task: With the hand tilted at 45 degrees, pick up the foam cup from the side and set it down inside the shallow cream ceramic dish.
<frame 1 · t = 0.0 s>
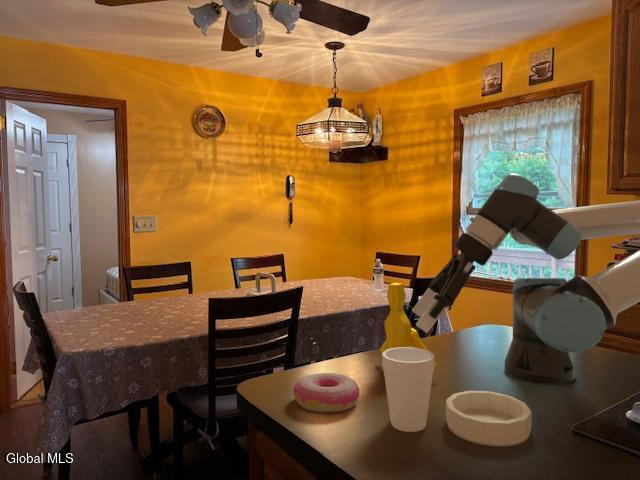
hand: (418, 321, 102), 15 cm above the counter, tool tilted 35°, fingers open, 13 cm apart
foam cup: (408, 425, 87), on the counter
dish: (487, 427, 85), on the counter
donut: (327, 404, 97), on the counter
figure statuette: (402, 373, 115), on the counter
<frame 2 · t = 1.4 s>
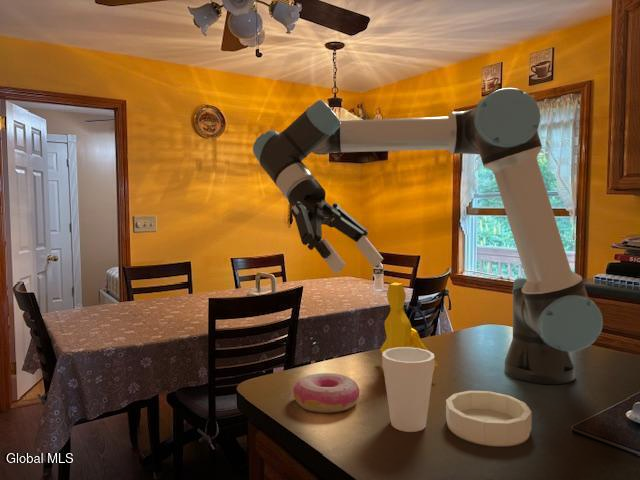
hand: (360, 266, 92), 29 cm above the counter, tool tilted 45°, fingers open, 13 cm apart
nothing on the counter moved.
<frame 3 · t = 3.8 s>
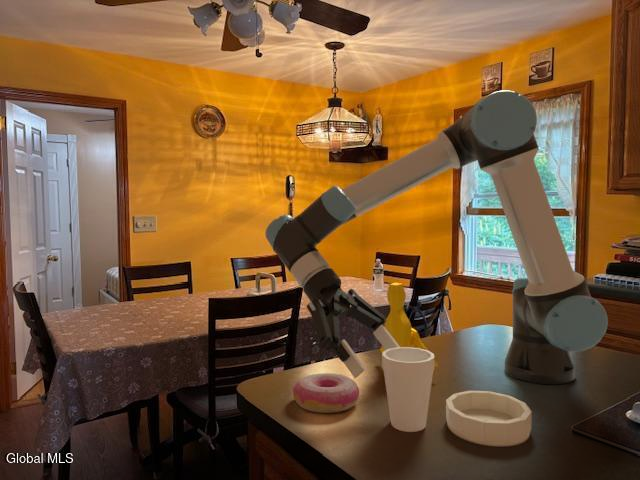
hand: (380, 363, 89), 10 cm above the counter, tool tilted 45°, fingers open, 13 cm apart
nothing on the counter moved.
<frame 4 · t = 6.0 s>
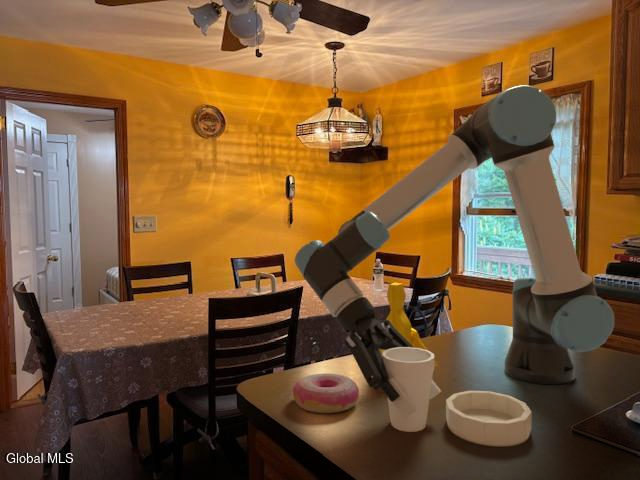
hand: (423, 404, 85), 4 cm above the counter, tool tilted 45°, fingers closed on foam cup, 9 cm apart
foam cup: (408, 424, 87), on the counter, touching gripper
everything else where it was.
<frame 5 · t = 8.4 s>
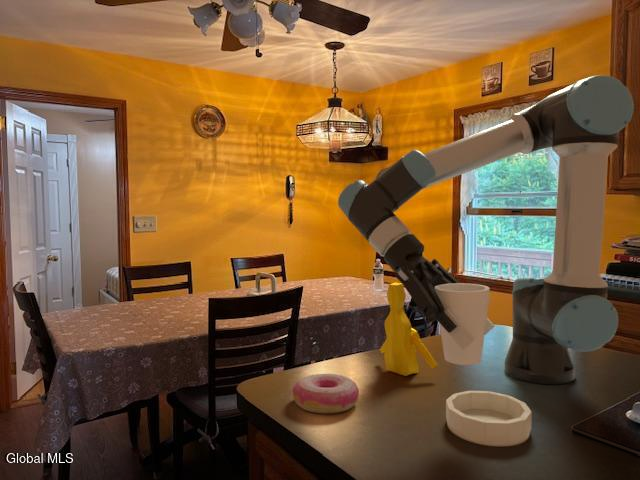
hand: (479, 337, 83), 17 cm above the counter, tool tilted 45°, fingers closed on foam cup, 9 cm apart
foam cup: (462, 360, 85), point 12 cm above the counter, touching gripper
everything else where it was.
when the fingers open (7 cm above the counter, at t = 11.1 s): foam cup drops 2 cm, resting on dish.
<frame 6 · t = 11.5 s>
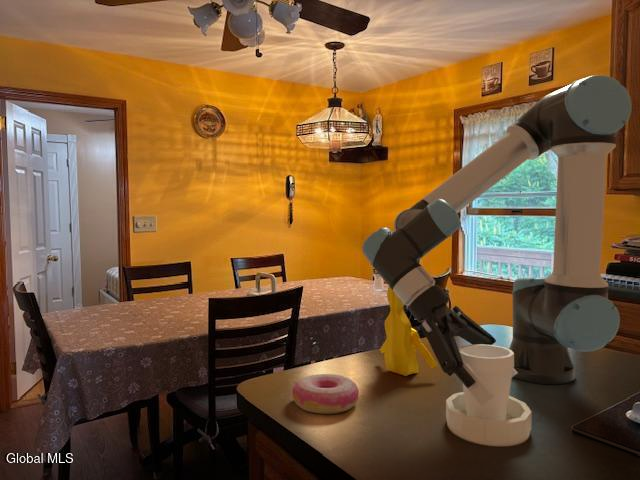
hand: (500, 388, 83), 8 cm above the counter, tool tilted 45°, fingers open, 13 cm apart
foam cup: (486, 423, 85), point 1 cm above the counter, touching dish
everything else where it was.
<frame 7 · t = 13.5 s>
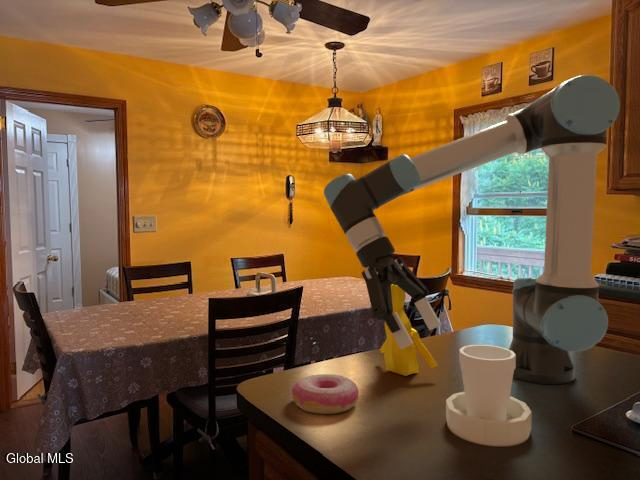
hand: (422, 336, 94), 14 cm above the counter, tool tilted 30°, fingers open, 13 cm apart
nothing on the counter moved.
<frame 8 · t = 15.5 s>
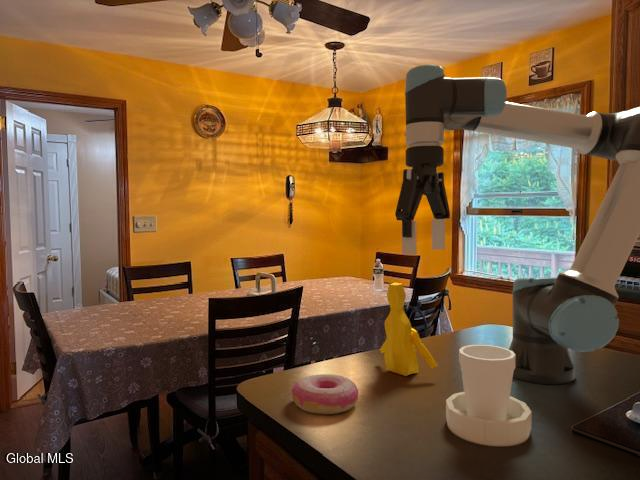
hand: (424, 251, 97), 31 cm above the counter, tool pointing down, fingers open, 13 cm apart
nothing on the counter moved.
at the end: foam cup 0.2 cm from the dish (horizontally); foam cup tilted 0°; foam cup point 0.6 cm above the counter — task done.
